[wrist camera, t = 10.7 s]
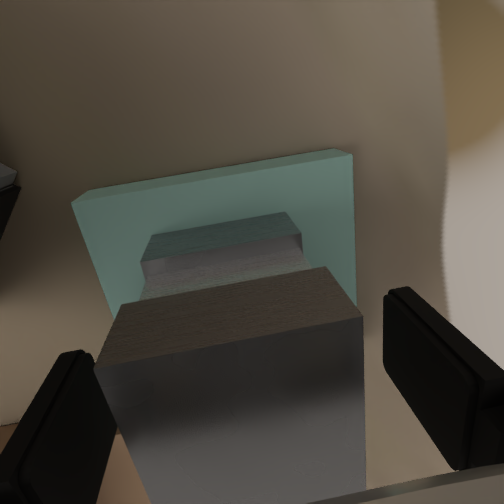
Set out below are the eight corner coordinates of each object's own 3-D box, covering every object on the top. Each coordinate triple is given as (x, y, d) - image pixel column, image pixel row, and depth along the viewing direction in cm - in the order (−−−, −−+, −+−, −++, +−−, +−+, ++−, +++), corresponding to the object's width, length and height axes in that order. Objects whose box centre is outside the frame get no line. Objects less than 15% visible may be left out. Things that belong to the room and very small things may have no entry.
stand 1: (41, 543, 22) (25, 584, 20) (-36, 433, 17) (-64, 472, 16) (199, 509, 22) (198, 545, 20) (159, 394, 18) (154, 427, 16)
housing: (151, 235, 13) (93, 368, 6) (285, 211, 13) (362, 316, 6) (192, 379, 15) (181, 575, 9) (301, 357, 16) (366, 532, 9)
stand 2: (154, 380, 18) (148, 411, 16) (88, 189, 14) (70, 202, 12) (343, 342, 18) (358, 368, 16) (334, 148, 14) (352, 154, 12)
